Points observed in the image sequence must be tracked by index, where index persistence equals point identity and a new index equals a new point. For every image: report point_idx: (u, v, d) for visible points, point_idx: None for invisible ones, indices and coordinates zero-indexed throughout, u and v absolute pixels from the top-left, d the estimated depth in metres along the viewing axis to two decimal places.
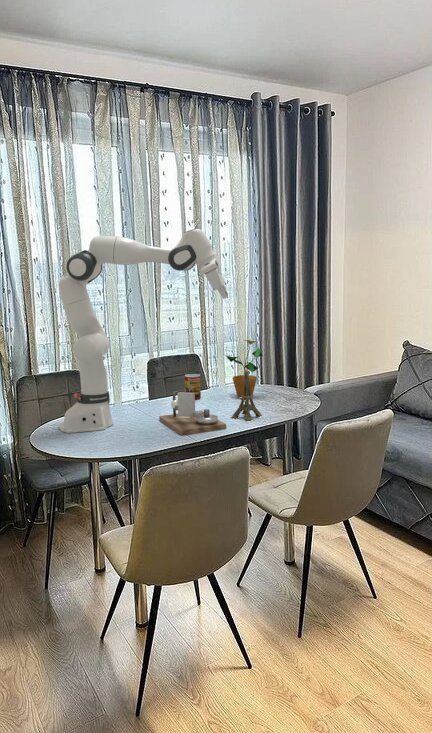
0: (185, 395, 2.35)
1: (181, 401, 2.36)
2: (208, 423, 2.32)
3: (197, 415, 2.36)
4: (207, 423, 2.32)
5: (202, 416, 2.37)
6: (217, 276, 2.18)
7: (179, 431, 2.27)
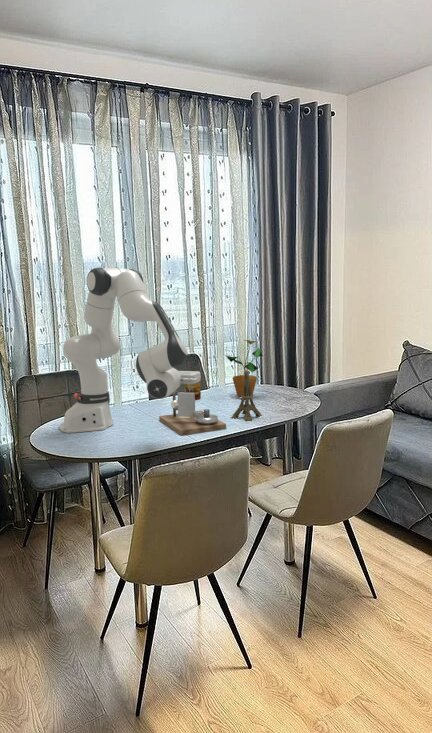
0: (185, 395, 2.35)
1: (181, 401, 2.36)
2: (208, 423, 2.32)
3: (197, 415, 2.36)
4: (207, 423, 2.32)
5: (202, 416, 2.37)
6: None
7: (179, 431, 2.27)
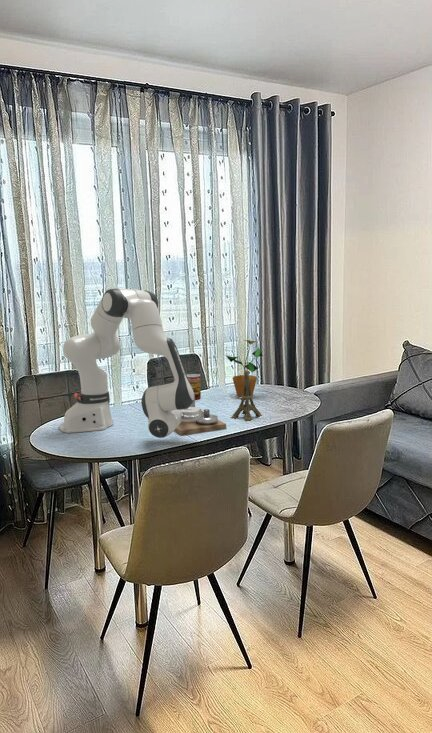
0: None
1: None
2: (208, 423, 2.32)
3: None
4: (207, 423, 2.32)
5: (202, 416, 2.37)
6: None
7: (179, 431, 2.27)
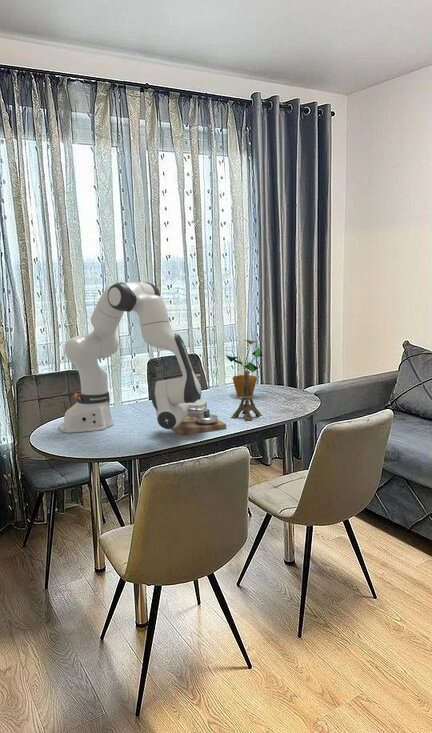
0: None
1: None
2: (208, 423, 2.32)
3: (197, 415, 2.36)
4: (207, 423, 2.32)
5: (202, 416, 2.37)
6: None
7: (179, 431, 2.27)
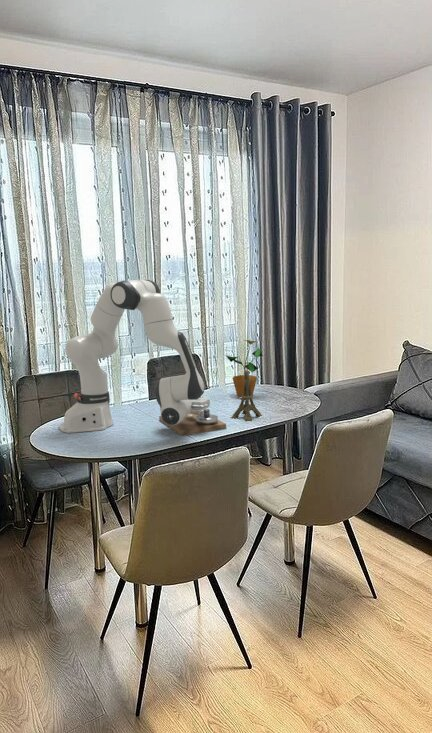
0: None
1: None
2: (201, 423, 2.32)
3: (199, 414, 2.38)
4: (200, 423, 2.32)
5: None
6: None
7: (179, 431, 2.27)
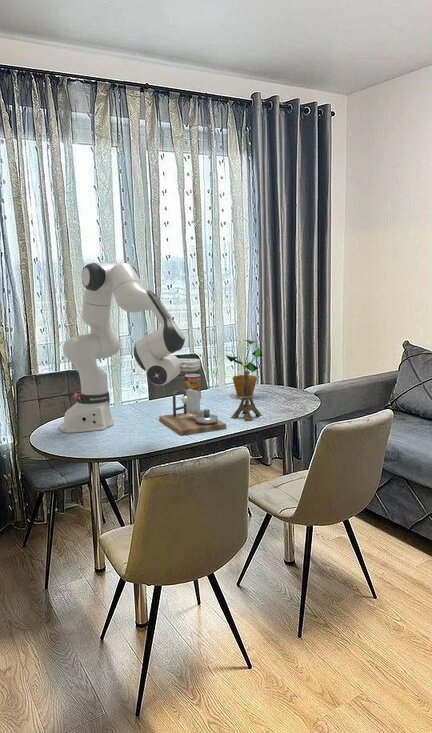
0: (191, 392, 2.40)
1: (188, 398, 2.42)
2: (201, 423, 2.32)
3: (199, 414, 2.38)
4: (200, 423, 2.32)
5: None
6: None
7: (179, 431, 2.27)
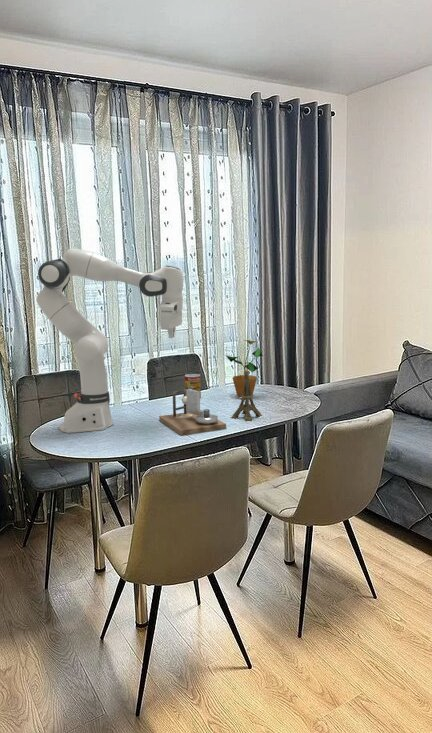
0: (191, 392, 2.40)
1: (188, 398, 2.42)
2: (201, 423, 2.32)
3: (199, 414, 2.38)
4: (200, 423, 2.32)
5: None
6: (168, 319, 2.30)
7: (179, 431, 2.27)
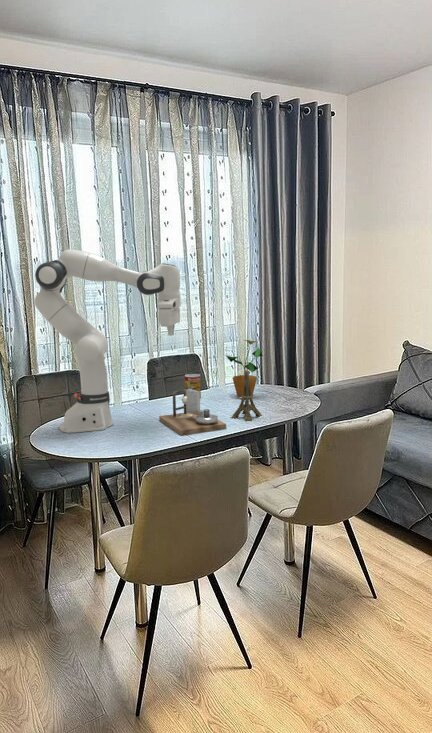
0: (191, 392, 2.40)
1: (188, 398, 2.42)
2: (201, 423, 2.32)
3: (199, 414, 2.38)
4: (200, 423, 2.32)
5: None
6: (168, 316, 2.31)
7: (179, 431, 2.27)
